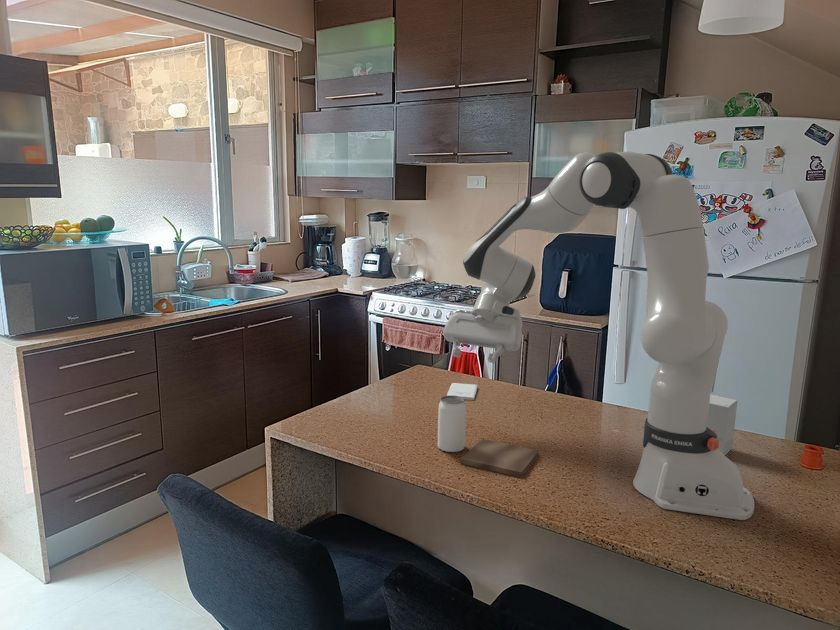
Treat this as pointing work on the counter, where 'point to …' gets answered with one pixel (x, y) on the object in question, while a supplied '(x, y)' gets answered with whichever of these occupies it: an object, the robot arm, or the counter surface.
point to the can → (451, 424)
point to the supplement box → (722, 421)
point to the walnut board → (500, 457)
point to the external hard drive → (463, 390)
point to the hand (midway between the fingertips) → (473, 358)
